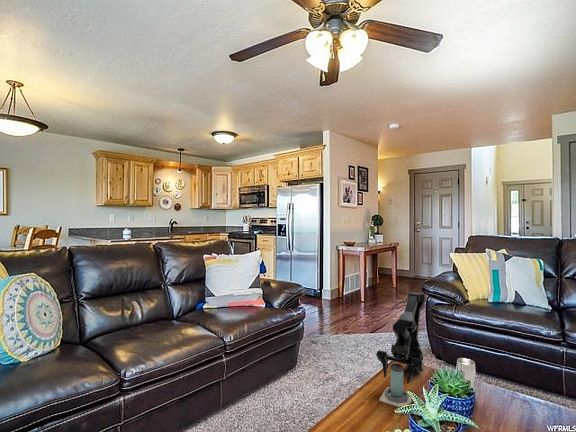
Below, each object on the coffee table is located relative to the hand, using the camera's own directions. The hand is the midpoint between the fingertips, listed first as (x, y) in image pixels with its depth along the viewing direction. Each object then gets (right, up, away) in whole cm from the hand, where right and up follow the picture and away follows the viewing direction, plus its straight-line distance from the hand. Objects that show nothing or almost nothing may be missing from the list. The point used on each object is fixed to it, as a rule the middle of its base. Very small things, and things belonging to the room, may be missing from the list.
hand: (395, 380), depth 134 cm
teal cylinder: (+1, -7, +1) cm, 7 cm away
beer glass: (+30, -8, +2) cm, 31 cm away
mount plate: (+1, -8, +1) cm, 8 cm away
